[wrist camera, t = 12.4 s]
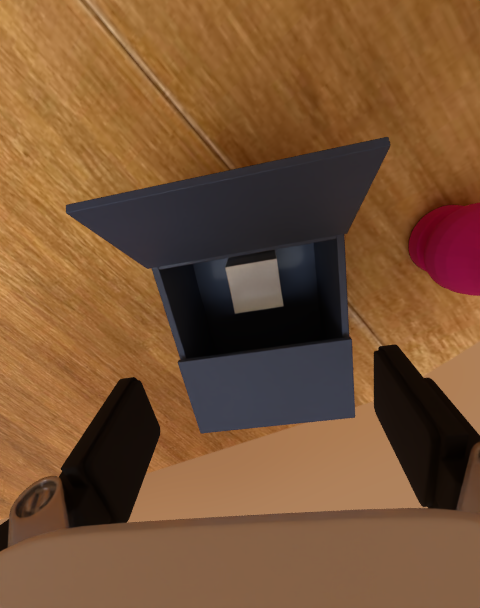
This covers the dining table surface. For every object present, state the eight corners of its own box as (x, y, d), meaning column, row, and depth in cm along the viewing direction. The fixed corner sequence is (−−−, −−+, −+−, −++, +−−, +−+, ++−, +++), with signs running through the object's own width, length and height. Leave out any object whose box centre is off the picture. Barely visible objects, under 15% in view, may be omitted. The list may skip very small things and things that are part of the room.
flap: (147, 269, 19) (146, 263, 19) (347, 233, 17) (345, 227, 18) (65, 212, 12) (65, 204, 12) (391, 145, 10) (388, 135, 10)
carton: (182, 238, 28) (145, 267, 19) (315, 213, 27) (348, 231, 17) (215, 363, 34) (200, 434, 25) (326, 349, 33) (356, 418, 23)
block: (229, 254, 28) (224, 267, 24) (273, 247, 28) (276, 258, 24) (237, 295, 30) (235, 313, 26) (279, 289, 29) (283, 306, 25)
